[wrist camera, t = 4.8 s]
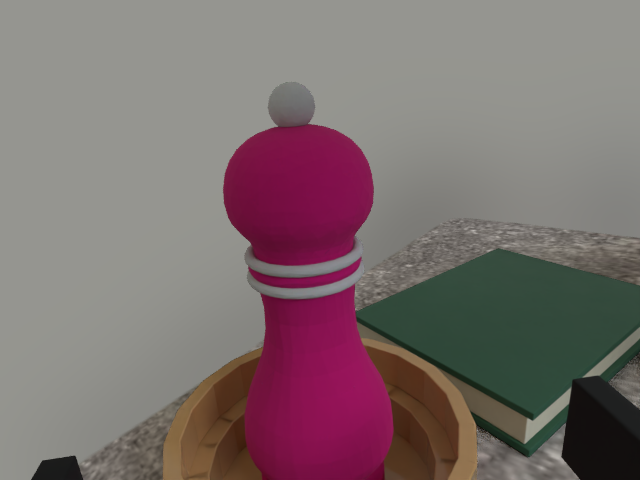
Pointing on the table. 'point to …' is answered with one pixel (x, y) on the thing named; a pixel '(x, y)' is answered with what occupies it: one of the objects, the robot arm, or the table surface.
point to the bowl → (407, 411)
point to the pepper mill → (308, 298)
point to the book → (513, 337)
